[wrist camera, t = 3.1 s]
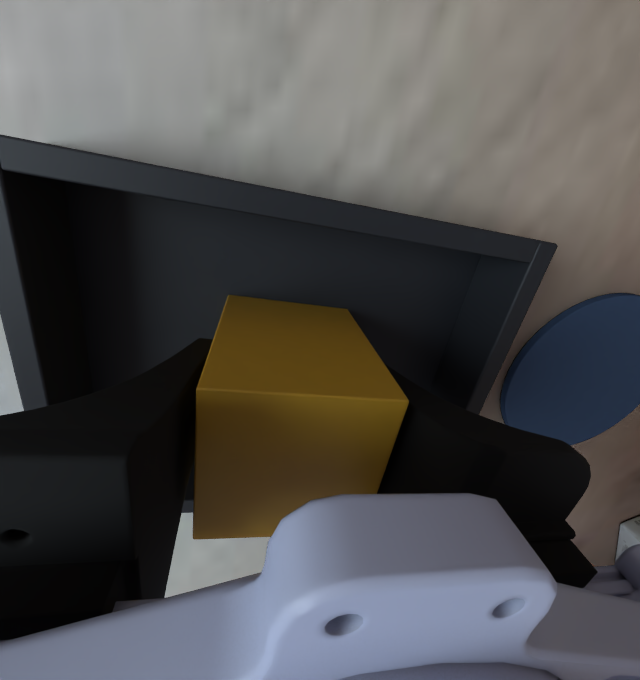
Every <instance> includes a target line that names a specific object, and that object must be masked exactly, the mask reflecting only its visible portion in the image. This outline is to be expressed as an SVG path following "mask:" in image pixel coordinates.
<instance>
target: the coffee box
mask: <svg viewBox="0 0 640 680" xmlns="http://www.w3.org/2000/svg"><path fill="white" fill-rule="evenodd" d="M637 544H640V516H639V517H636V518H634V519H631V520H629V521H626V522H624V523H622V524H621V525H620V532H619V539H618V546H617V552H616V559H615V561H616V560H617V558H618V557H619V556H620V555H621V553H622V552H624V551H625V550H626V549H627V548H629V547H631V546H633V545H637Z"/></svg>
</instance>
